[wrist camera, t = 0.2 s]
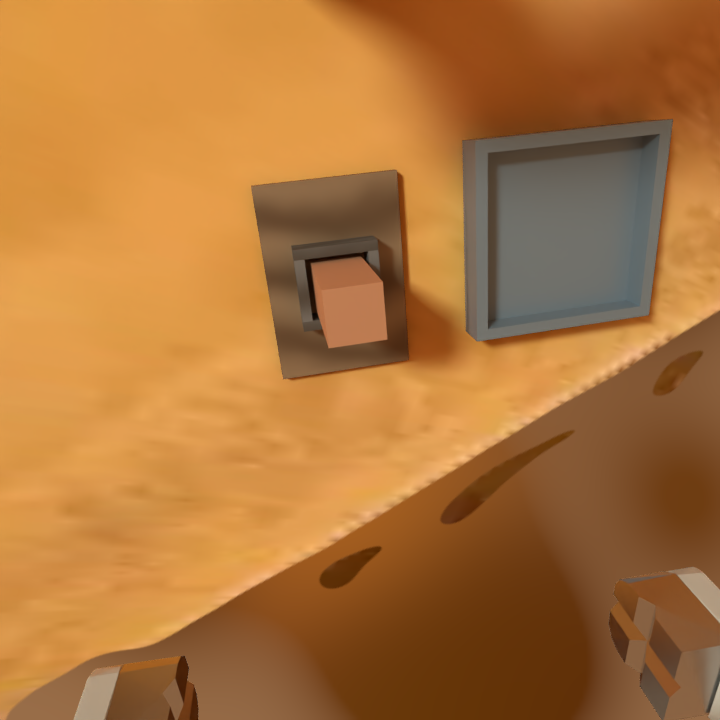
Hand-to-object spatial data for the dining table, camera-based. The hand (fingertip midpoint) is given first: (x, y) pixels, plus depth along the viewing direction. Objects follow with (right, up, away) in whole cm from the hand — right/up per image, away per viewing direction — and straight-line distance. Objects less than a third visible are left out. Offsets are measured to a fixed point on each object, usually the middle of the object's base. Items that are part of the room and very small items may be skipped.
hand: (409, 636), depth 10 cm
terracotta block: (-3, +13, +45) cm, 47 cm away
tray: (+20, +19, +48) cm, 55 cm away
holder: (-3, +14, +46) cm, 48 cm away
